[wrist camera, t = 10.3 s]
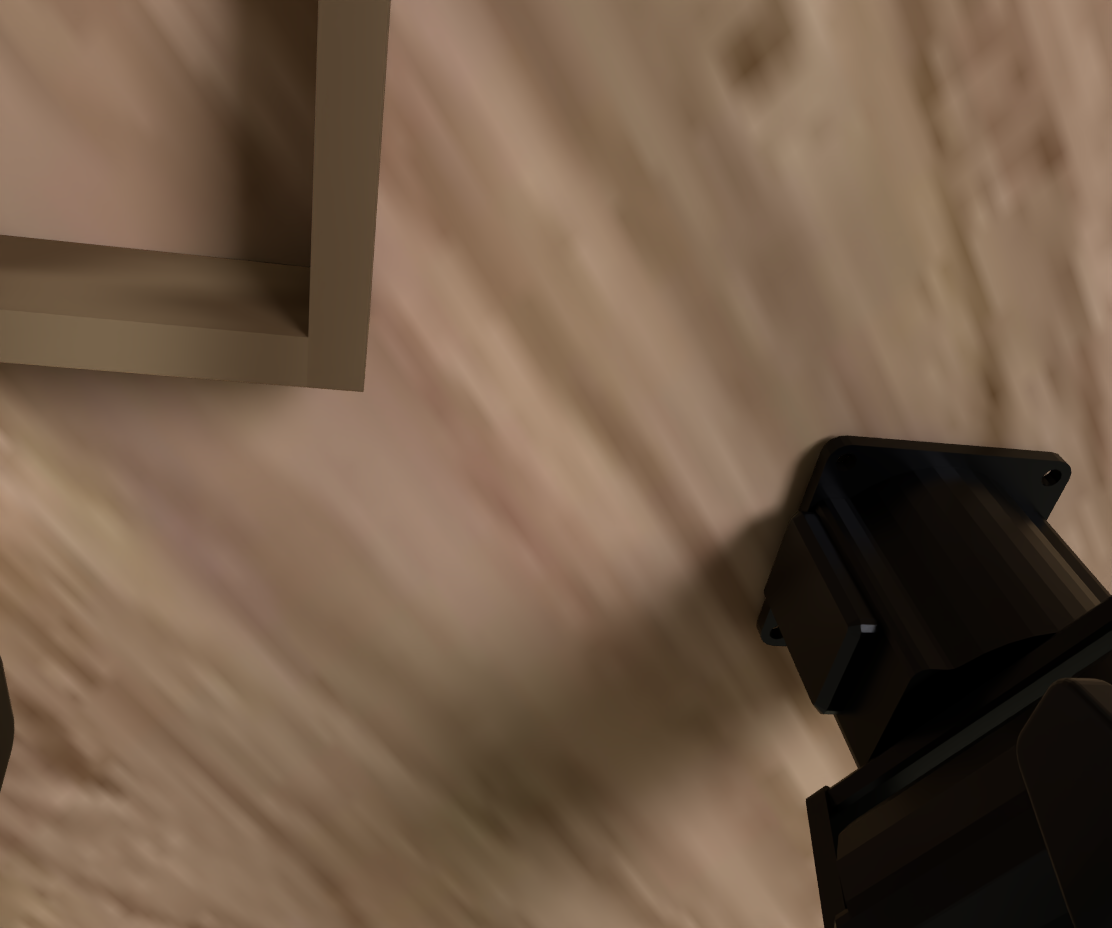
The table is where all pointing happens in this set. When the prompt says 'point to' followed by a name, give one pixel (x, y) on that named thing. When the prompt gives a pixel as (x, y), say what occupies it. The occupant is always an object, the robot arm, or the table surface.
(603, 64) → the table surface
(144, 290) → the wooden frame
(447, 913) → the table surface
